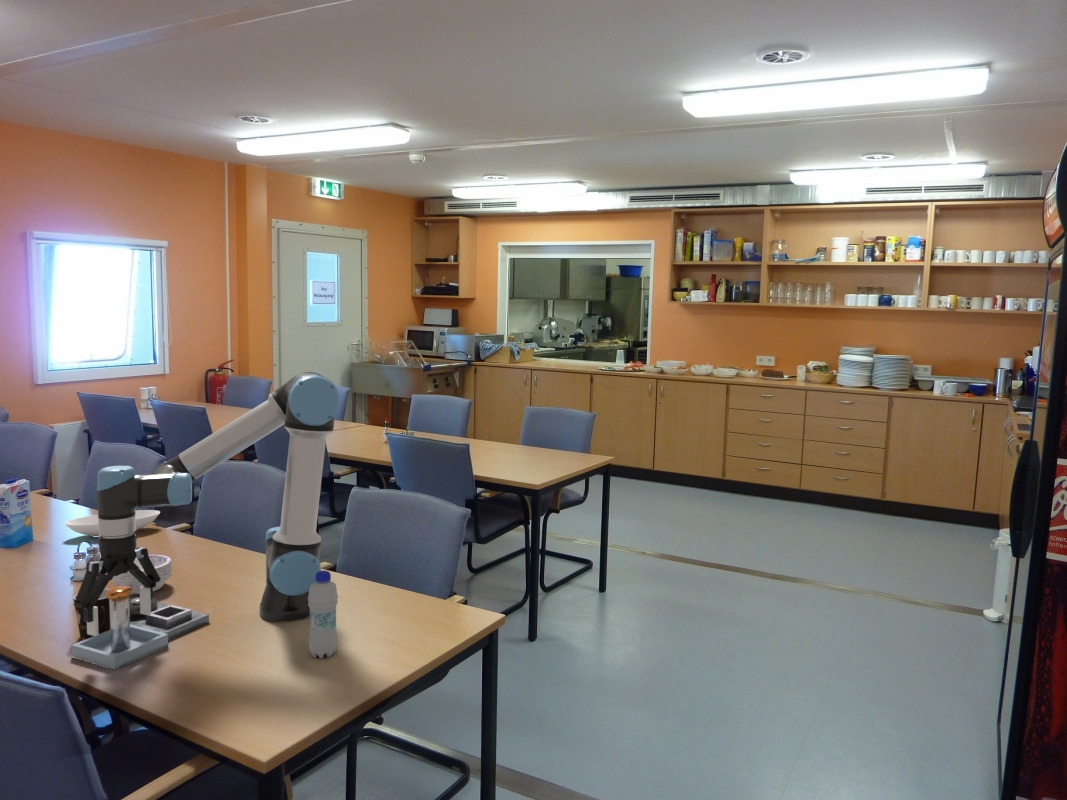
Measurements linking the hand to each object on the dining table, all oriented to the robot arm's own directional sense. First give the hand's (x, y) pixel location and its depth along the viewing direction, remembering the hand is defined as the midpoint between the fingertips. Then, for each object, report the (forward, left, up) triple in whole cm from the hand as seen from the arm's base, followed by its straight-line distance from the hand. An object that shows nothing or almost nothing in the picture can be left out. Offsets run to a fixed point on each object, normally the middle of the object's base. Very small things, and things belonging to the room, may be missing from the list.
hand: (120, 624), depth 176 cm
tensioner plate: (+7, -15, -7) cm, 18 cm away
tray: (0, 0, -7) cm, 7 cm away
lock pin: (0, 0, -6) cm, 6 cm away
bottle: (-42, -20, -7) cm, 47 cm away
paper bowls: (+31, -31, -7) cm, 44 cm away
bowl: (+87, -65, -7) cm, 109 cm away
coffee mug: (+13, -3, -7) cm, 15 cm away
